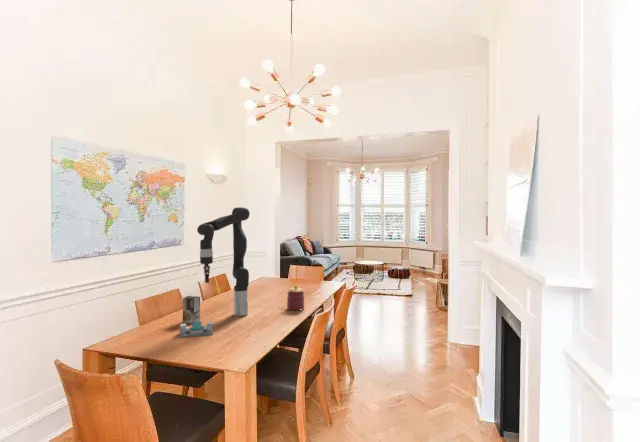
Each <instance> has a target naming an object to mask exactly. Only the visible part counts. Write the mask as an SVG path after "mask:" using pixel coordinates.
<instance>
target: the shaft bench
mask: <svg viewBox="0 0 640 442" xmlns="http://www.w3.org/2000/svg"><path fill="white" fill-rule="evenodd" d="M213 325H214V321H213V320H211V321H207V325H201V330H196V331H192V326H187V323H185V322H184V323H180V325H179V339H182V338H192V337H193V338H194V337H203V336H204V337H205V336H213V334H214V331H213V328H214V327H213Z"/></svg>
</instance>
